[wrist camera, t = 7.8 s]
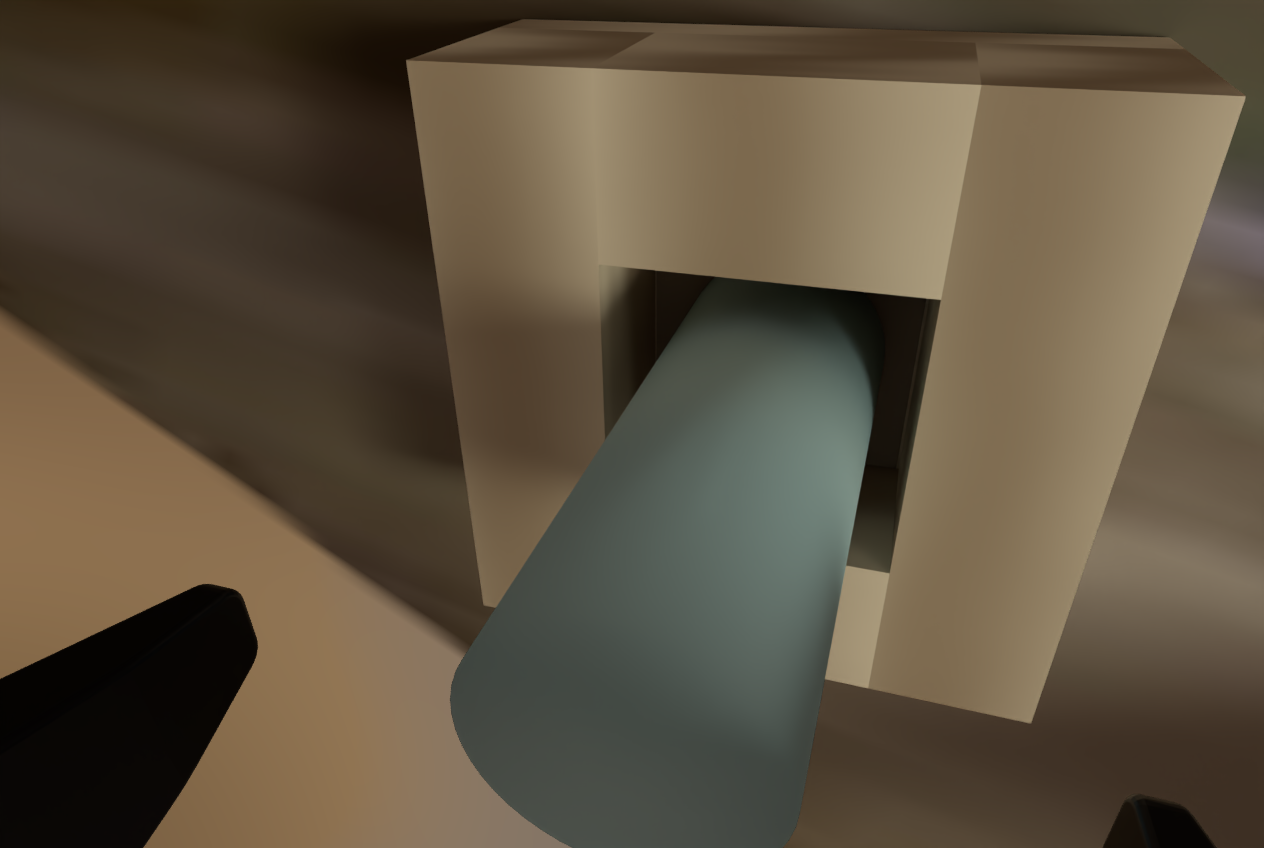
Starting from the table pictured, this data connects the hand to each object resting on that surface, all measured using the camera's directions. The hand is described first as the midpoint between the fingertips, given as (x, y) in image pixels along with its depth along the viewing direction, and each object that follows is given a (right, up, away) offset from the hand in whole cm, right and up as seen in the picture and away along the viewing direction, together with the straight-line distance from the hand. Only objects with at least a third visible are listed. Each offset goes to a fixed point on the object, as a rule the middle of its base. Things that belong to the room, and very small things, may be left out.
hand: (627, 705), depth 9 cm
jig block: (+3, +5, +8) cm, 10 cm away
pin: (+3, +4, +7) cm, 9 cm away
